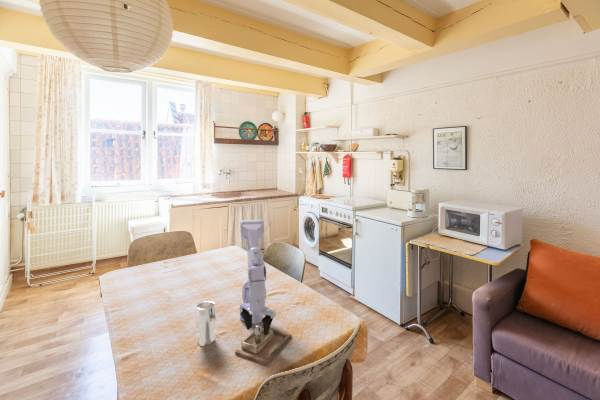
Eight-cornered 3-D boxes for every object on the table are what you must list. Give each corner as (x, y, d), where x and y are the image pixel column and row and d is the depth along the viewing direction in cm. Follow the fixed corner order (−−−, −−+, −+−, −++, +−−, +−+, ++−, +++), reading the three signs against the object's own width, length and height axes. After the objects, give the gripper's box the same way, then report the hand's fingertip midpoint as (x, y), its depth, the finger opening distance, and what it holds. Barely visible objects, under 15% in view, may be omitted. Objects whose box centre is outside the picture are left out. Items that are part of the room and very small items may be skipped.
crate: (241, 348, 108) (241, 331, 107) (258, 332, 118) (258, 317, 117) (257, 354, 105) (257, 337, 104) (273, 337, 115) (273, 321, 114)
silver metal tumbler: (218, 336, 117) (217, 300, 115) (214, 347, 110) (212, 309, 108) (200, 336, 116) (199, 300, 114) (195, 347, 109) (193, 310, 107)
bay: (235, 356, 105) (235, 351, 105) (263, 330, 121) (263, 325, 121) (266, 368, 99) (266, 362, 99) (291, 338, 115) (291, 334, 115)
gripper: (234, 297, 108) (235, 331, 110) (268, 306, 102) (268, 342, 104) (246, 289, 114) (246, 322, 116) (278, 297, 108) (278, 331, 110)
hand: (257, 331), depth 111 cm, fingers open, 7 cm apart
